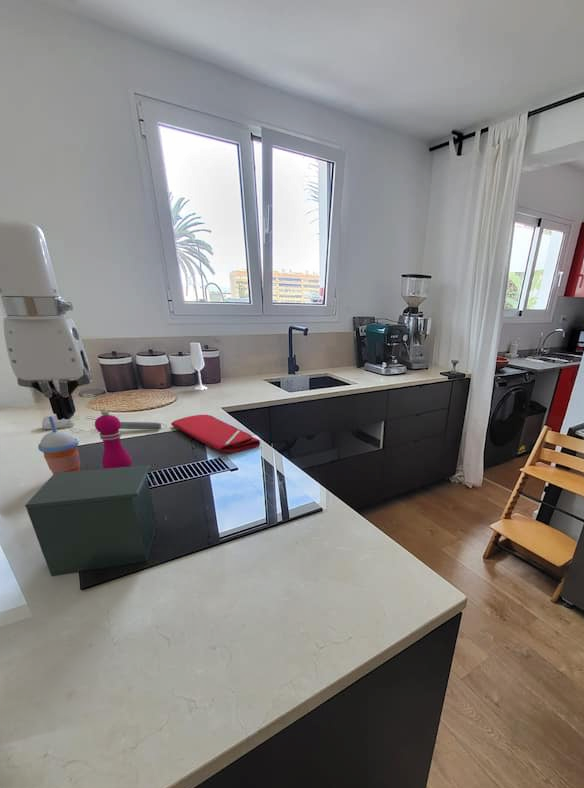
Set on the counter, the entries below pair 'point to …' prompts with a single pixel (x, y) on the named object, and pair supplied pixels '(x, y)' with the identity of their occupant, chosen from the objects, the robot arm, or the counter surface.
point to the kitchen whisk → (130, 425)
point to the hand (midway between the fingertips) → (66, 417)
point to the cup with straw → (60, 450)
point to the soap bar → (56, 423)
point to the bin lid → (90, 486)
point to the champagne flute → (197, 362)
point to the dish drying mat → (216, 433)
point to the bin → (96, 533)
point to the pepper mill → (112, 441)
